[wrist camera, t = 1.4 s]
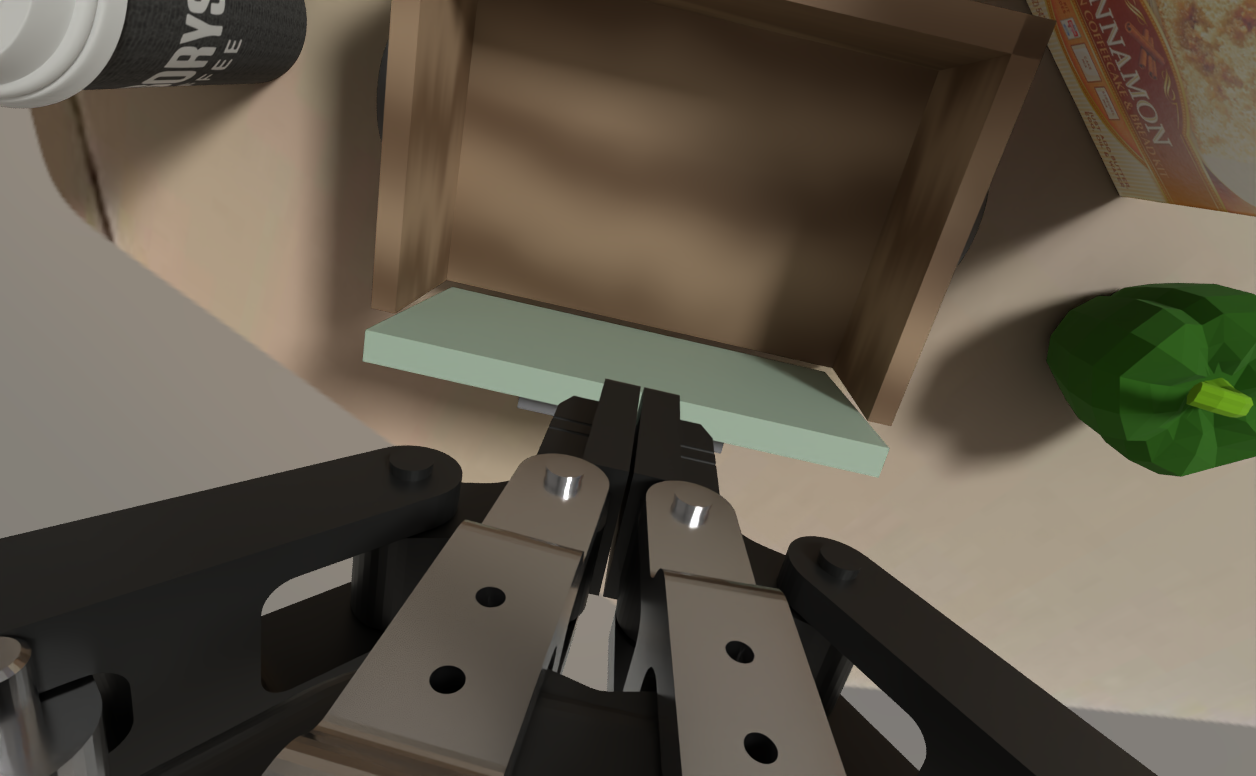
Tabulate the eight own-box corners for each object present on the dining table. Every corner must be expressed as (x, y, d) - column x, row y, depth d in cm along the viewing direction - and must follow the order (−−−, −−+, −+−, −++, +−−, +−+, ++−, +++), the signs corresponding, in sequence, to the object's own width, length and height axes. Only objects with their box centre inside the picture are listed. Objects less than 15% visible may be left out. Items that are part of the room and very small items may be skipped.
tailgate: (452, 286, 33) (365, 329, 23) (824, 371, 33) (889, 448, 24) (447, 324, 33) (360, 381, 24) (812, 407, 34) (871, 496, 24)
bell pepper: (1228, 329, 33) (1440, 405, 24) (1091, 439, 36) (1236, 546, 27) (1122, 225, 32) (1305, 263, 23) (988, 348, 35) (1103, 427, 25)
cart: (444, -68, 29) (352, -148, 21) (983, 60, 30) (1104, 32, 21) (414, 259, 35) (332, 299, 27) (868, 363, 35) (928, 434, 27)
